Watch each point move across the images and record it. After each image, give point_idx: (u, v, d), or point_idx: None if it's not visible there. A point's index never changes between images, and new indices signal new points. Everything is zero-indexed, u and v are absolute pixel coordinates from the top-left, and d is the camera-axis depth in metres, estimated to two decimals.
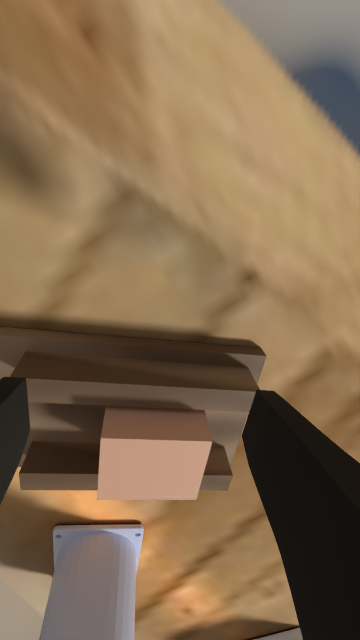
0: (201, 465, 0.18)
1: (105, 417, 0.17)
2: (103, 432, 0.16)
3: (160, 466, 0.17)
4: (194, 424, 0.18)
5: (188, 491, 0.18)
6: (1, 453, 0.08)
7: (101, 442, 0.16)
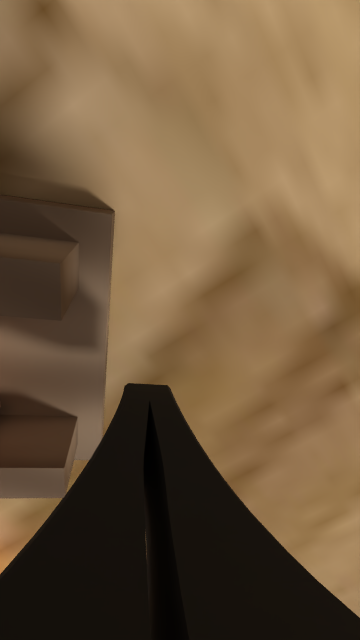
0: None
1: None
2: None
3: None
4: None
5: None
6: None
7: None
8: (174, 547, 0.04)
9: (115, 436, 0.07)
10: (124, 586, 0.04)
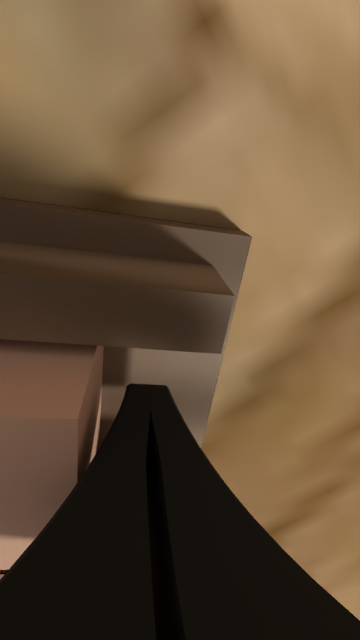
0: (64, 487, 0.06)
1: None
2: None
3: None
4: (50, 375, 0.07)
5: None
6: None
7: None
8: (171, 547, 0.04)
9: (117, 436, 0.07)
10: (128, 586, 0.04)
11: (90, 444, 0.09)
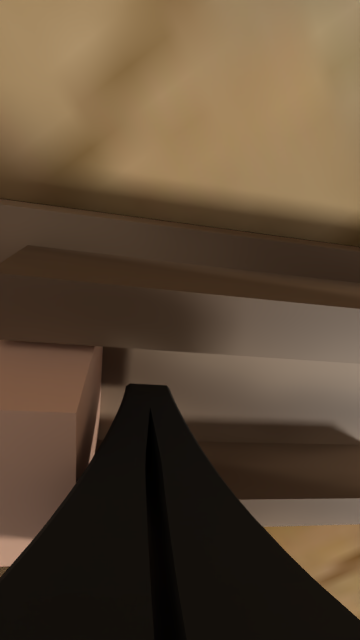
0: (63, 482, 0.06)
1: None
2: None
3: None
4: (48, 370, 0.07)
5: None
6: None
7: None
8: (172, 547, 0.04)
9: (117, 436, 0.07)
10: (127, 586, 0.04)
11: (89, 440, 0.08)
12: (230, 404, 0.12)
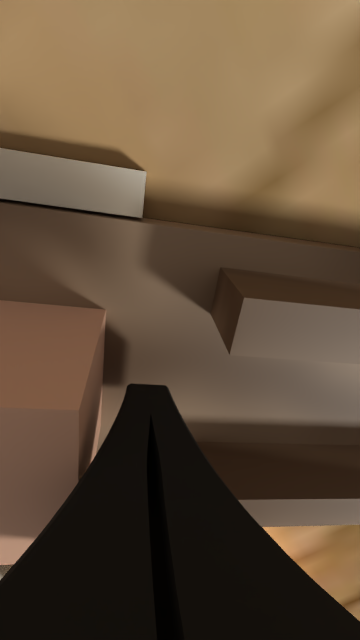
0: (65, 480, 0.06)
1: None
2: None
3: None
4: (50, 368, 0.07)
5: None
6: None
7: None
8: (170, 547, 0.04)
9: (118, 436, 0.07)
10: (129, 586, 0.04)
11: (91, 439, 0.08)
12: (357, 410, 0.13)
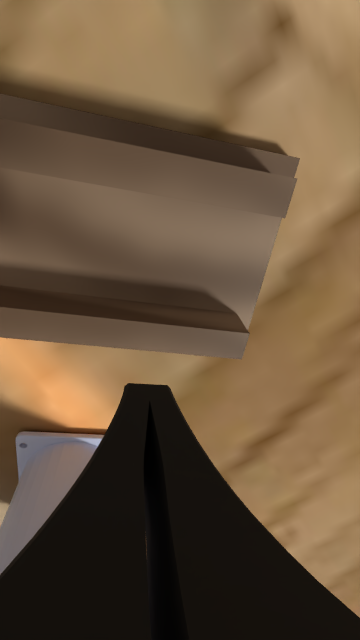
0: None
1: None
2: None
3: None
4: None
5: None
6: None
7: None
8: (174, 547, 0.04)
9: (115, 436, 0.07)
10: (124, 586, 0.04)
11: None
12: (121, 263, 0.16)
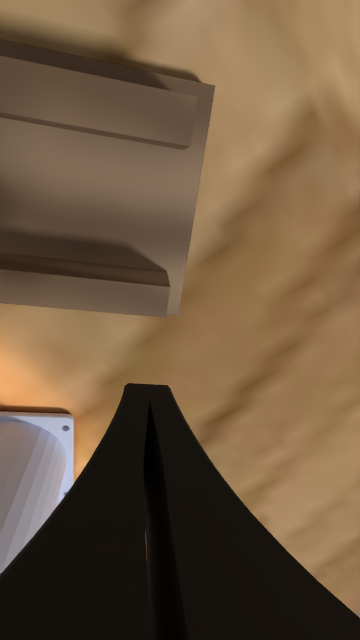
0: None
1: None
2: None
3: None
4: None
5: None
6: None
7: None
8: (174, 547, 0.04)
9: (115, 436, 0.07)
10: (124, 586, 0.04)
11: None
12: (29, 214, 0.15)
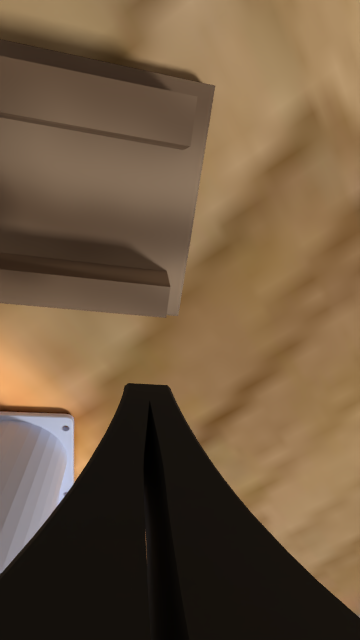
0: None
1: None
2: None
3: None
4: None
5: None
6: None
7: None
8: (174, 547, 0.04)
9: (115, 436, 0.07)
10: (124, 586, 0.04)
11: None
12: (29, 214, 0.15)
